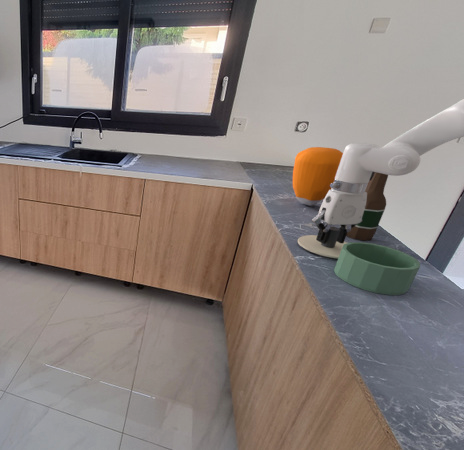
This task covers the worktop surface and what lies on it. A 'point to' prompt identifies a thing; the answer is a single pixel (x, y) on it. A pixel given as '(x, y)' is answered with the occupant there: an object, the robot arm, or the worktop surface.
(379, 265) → the green round bowl
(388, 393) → the worktop surface
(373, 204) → the beer bottle
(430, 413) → the worktop surface
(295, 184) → the orange egg-shaped ornament
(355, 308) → the worktop surface
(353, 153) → the robot arm
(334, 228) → the lid
